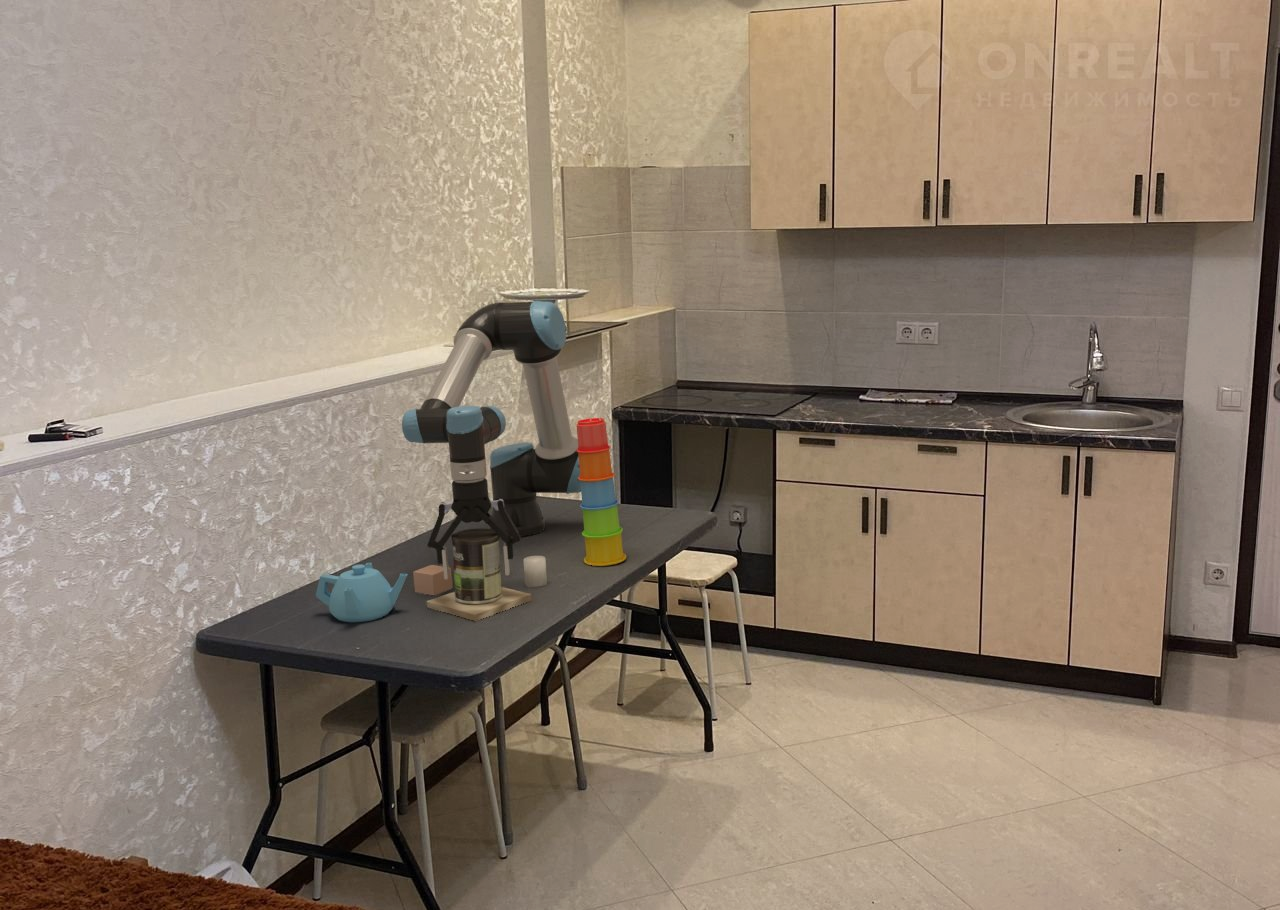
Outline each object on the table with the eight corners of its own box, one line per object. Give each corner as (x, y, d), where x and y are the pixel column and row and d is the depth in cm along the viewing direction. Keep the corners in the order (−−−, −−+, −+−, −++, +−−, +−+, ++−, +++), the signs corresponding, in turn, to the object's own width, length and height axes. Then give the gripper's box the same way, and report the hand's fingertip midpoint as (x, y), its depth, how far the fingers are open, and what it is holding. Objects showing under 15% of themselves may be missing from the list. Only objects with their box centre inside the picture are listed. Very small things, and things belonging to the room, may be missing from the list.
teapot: (376, 597, 264) (371, 551, 262) (413, 611, 253) (408, 563, 251) (314, 615, 253) (309, 567, 251) (350, 630, 243) (345, 580, 241)
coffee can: (461, 607, 248) (457, 543, 245) (450, 594, 257) (446, 531, 255) (508, 600, 252) (505, 536, 249) (495, 587, 261) (492, 526, 258)
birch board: (483, 588, 266) (482, 582, 266) (531, 600, 255) (531, 594, 255) (427, 607, 254) (426, 601, 254) (475, 621, 244) (474, 614, 243)
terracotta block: (433, 585, 270) (431, 564, 270) (452, 588, 267) (450, 567, 266) (415, 592, 266) (413, 571, 265) (434, 596, 262) (432, 575, 261)
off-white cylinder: (536, 579, 271) (534, 554, 269) (551, 583, 267) (549, 557, 266) (520, 585, 267) (518, 559, 266) (535, 588, 264) (533, 563, 263)
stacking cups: (597, 569, 276) (589, 425, 269) (576, 560, 284) (567, 419, 277) (634, 561, 281) (627, 419, 274) (612, 552, 289) (604, 414, 283)
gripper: (408, 486, 245) (417, 584, 249) (526, 479, 246) (533, 576, 250) (413, 478, 252) (422, 574, 257) (527, 471, 254) (534, 566, 258)
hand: (477, 575), depth 254 cm, fingers open, 12 cm apart
